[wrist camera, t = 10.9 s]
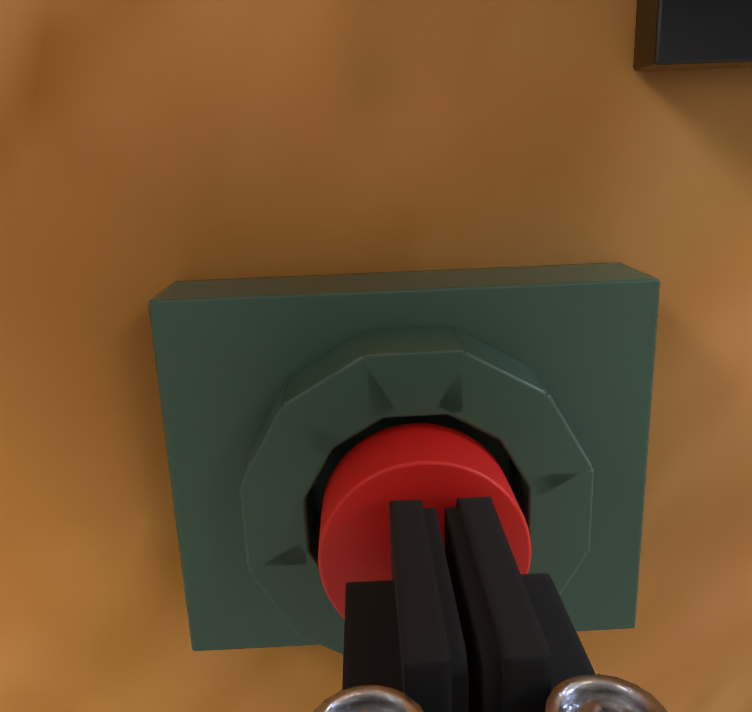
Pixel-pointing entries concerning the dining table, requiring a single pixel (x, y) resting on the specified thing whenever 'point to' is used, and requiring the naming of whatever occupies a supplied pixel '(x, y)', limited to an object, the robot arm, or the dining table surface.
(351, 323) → the button box
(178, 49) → the dining table surface
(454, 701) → the robot arm
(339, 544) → the button
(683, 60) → the bracket
